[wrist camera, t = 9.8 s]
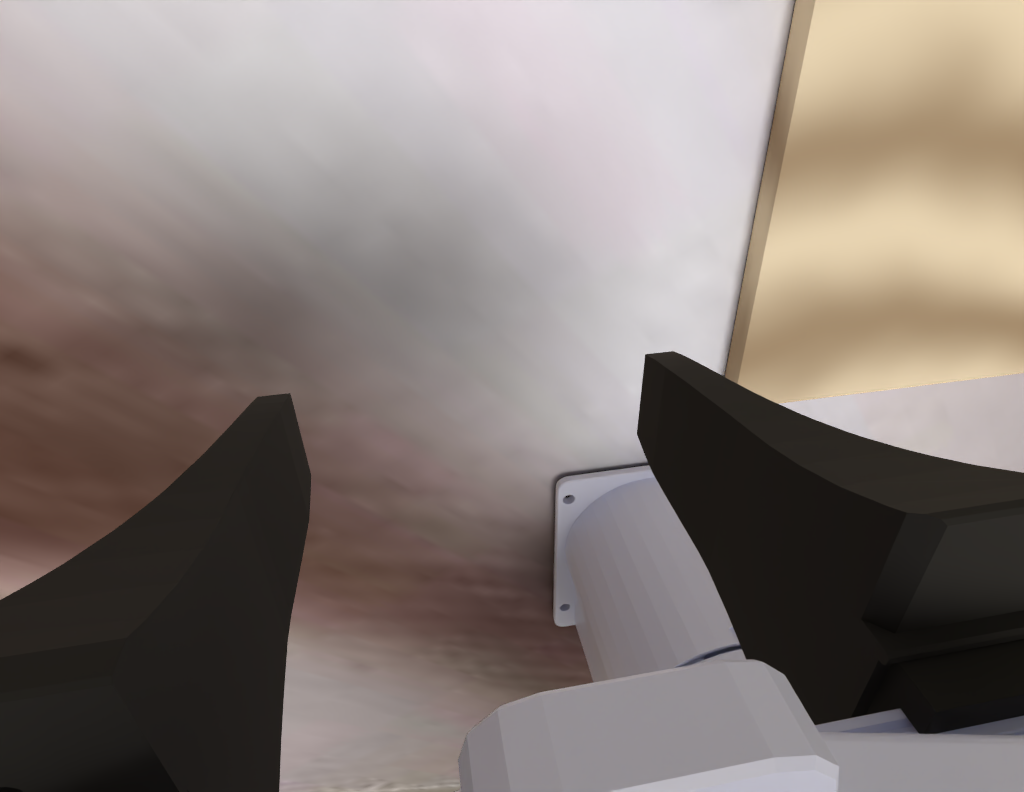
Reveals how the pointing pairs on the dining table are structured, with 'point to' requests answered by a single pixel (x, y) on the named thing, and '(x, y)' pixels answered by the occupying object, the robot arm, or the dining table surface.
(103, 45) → the dining table surface
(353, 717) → the dining table surface
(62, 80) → the dining table surface
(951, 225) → the board
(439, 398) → the dining table surface
